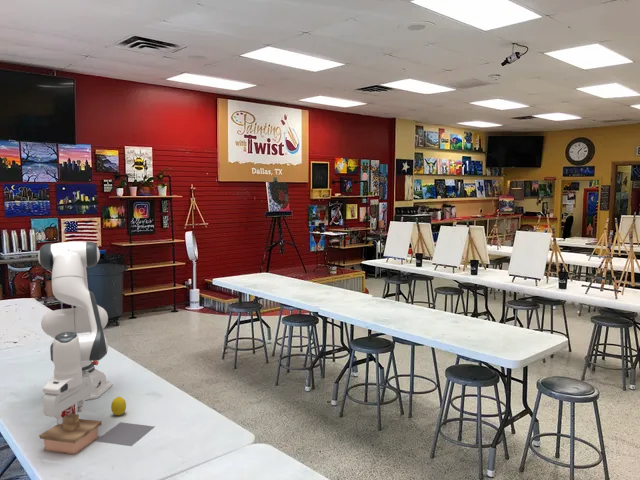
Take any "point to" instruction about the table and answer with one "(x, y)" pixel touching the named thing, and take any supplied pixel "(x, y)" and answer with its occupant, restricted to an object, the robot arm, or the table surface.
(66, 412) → the soda can
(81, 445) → the pink shallow box
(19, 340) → the table surface
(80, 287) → the robot arm
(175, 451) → the table surface
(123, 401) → the lemon
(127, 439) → the mat
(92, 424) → the lid
